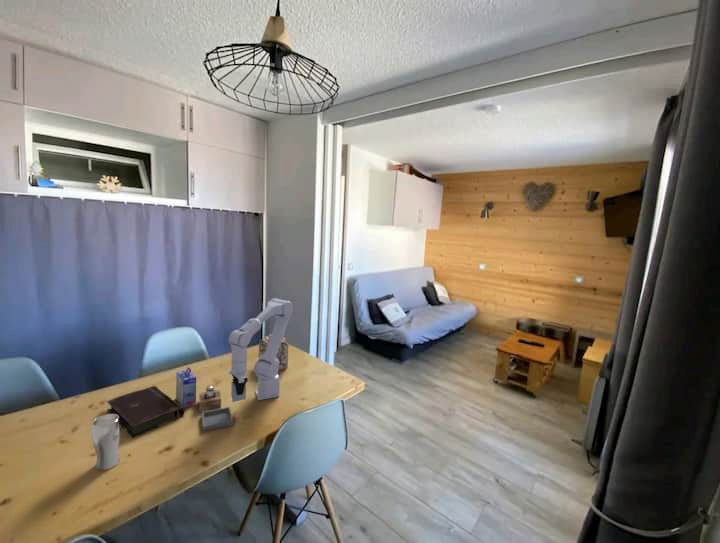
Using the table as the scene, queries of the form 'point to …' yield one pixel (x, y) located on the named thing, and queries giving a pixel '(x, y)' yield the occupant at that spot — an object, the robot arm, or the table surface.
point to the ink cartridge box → (186, 388)
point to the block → (234, 393)
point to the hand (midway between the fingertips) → (239, 391)
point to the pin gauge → (209, 391)
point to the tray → (216, 419)
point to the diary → (144, 410)
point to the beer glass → (106, 441)
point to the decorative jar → (282, 351)
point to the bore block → (209, 401)
